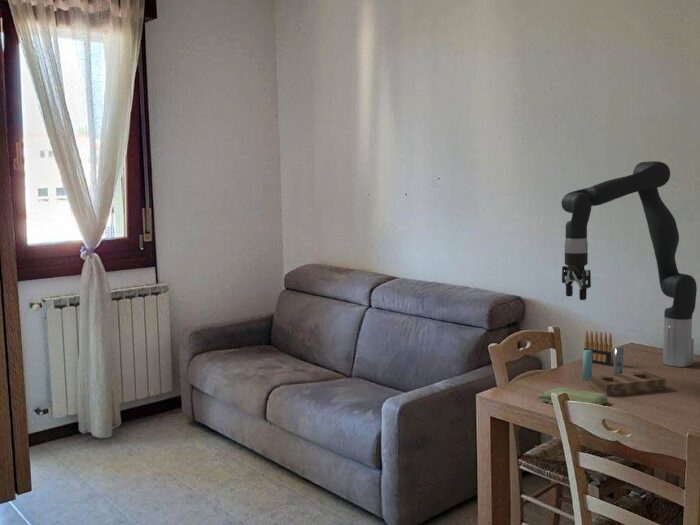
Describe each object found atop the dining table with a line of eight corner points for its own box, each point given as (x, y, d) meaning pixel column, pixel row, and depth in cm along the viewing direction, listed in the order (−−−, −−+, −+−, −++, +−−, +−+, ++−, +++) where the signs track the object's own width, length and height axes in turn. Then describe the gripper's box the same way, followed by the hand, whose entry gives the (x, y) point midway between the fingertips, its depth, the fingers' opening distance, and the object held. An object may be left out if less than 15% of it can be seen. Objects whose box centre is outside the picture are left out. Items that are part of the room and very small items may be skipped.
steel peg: (619, 375, 250) (619, 346, 248) (624, 377, 247) (625, 348, 246) (611, 375, 249) (612, 347, 248) (616, 378, 246) (617, 349, 245)
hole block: (645, 381, 241) (645, 371, 241) (665, 389, 232) (665, 379, 231) (588, 387, 236) (588, 376, 236) (606, 395, 226) (606, 385, 226)
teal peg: (588, 378, 247) (589, 349, 245) (593, 380, 244) (594, 351, 243) (580, 378, 246) (581, 350, 245) (585, 381, 243) (586, 352, 242)
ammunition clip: (613, 365, 263) (613, 332, 262) (611, 366, 262) (611, 333, 261) (584, 360, 270) (585, 329, 269) (582, 361, 269) (583, 330, 268)
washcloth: (556, 393, 232) (556, 383, 232) (609, 404, 220) (609, 393, 219) (535, 402, 222) (535, 392, 222) (590, 414, 210) (590, 403, 210)
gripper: (597, 252, 240) (597, 300, 242) (574, 248, 254) (574, 294, 256) (577, 253, 239) (577, 302, 240) (555, 249, 252) (555, 295, 254)
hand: (575, 298), depth 248 cm, fingers open, 8 cm apart
